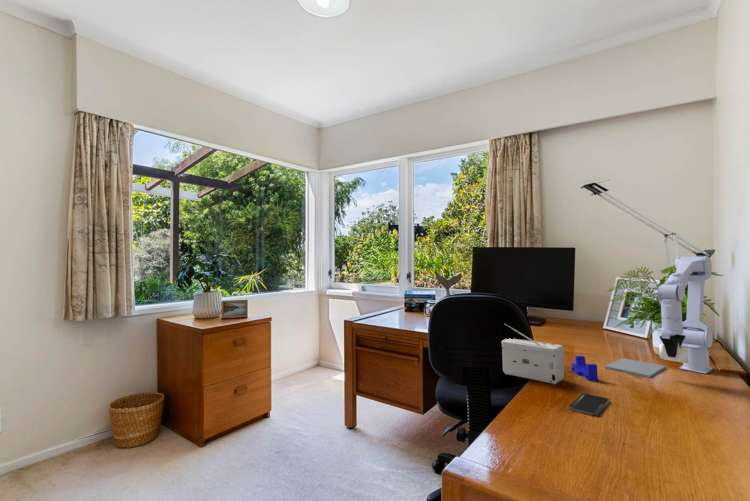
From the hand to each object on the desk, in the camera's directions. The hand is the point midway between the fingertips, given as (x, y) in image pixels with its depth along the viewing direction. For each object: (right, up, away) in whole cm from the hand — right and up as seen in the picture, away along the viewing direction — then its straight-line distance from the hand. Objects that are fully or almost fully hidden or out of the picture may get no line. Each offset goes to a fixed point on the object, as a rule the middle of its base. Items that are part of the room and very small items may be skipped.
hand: (673, 355), depth 128 cm
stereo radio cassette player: (-47, -11, +8) cm, 49 cm away
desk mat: (-3, -9, +15) cm, 18 cm away
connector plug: (0, -1, 0) cm, 1 cm away
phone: (-41, -10, -18) cm, 46 cm away
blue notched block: (-27, -10, +8) cm, 30 cm away
